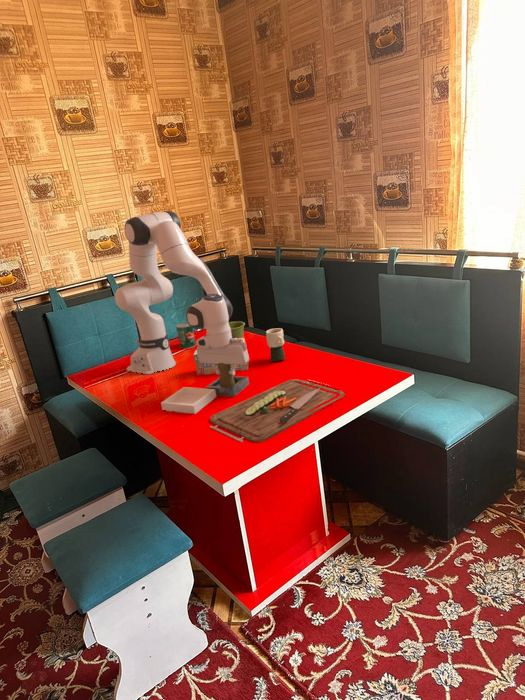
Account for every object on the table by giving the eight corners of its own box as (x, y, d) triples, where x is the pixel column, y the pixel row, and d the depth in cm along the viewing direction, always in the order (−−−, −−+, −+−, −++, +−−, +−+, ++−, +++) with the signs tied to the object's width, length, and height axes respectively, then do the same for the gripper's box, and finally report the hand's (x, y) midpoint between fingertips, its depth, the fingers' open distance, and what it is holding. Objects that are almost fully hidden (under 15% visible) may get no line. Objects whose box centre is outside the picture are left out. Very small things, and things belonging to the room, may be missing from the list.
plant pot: (221, 347, 242) (217, 324, 239) (245, 342, 244) (242, 320, 241) (225, 354, 231) (221, 330, 228) (250, 349, 233) (247, 325, 230)
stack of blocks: (197, 376, 209) (191, 347, 205) (199, 370, 215) (194, 343, 211) (248, 369, 208) (244, 341, 204) (248, 364, 214) (244, 336, 210)
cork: (238, 385, 192) (234, 357, 188) (232, 391, 186) (228, 363, 183) (223, 385, 194) (219, 358, 190) (217, 391, 188) (213, 363, 185)
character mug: (291, 360, 211) (288, 331, 207) (276, 365, 208) (272, 335, 204) (279, 354, 220) (275, 326, 216) (264, 359, 217) (260, 330, 213)
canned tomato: (194, 347, 248) (191, 326, 244) (179, 349, 248) (174, 328, 244) (196, 342, 255) (192, 321, 252) (181, 344, 255) (177, 323, 252)
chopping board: (298, 378, 192) (297, 371, 191) (353, 394, 172) (353, 386, 171) (200, 424, 166) (199, 416, 165) (252, 449, 146) (251, 439, 145)
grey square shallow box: (207, 394, 188) (205, 387, 187) (222, 382, 198) (221, 375, 197) (234, 396, 183) (232, 389, 182) (249, 384, 192) (247, 376, 191)
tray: (162, 410, 180) (160, 402, 179) (185, 394, 191) (183, 387, 190) (195, 413, 173) (193, 405, 172) (216, 396, 185) (215, 389, 184)
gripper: (249, 336, 182) (254, 372, 186) (201, 335, 191) (207, 370, 195) (240, 342, 177) (246, 378, 181) (192, 341, 186) (198, 376, 190)
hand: (225, 374), depth 188 cm, fingers open, 4 cm apart
